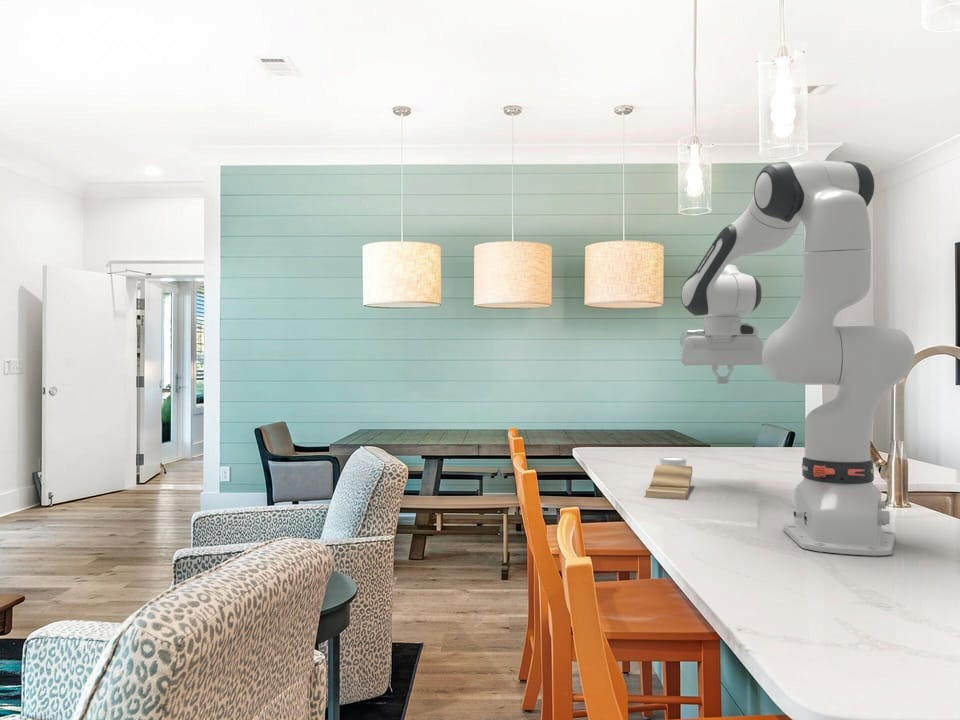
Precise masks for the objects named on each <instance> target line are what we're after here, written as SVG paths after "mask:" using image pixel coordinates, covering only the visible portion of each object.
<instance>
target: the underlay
mask: <svg viewBox="0 0 960 720" xmlns="http://www.w3.org/2000/svg"><path fill="white" fill-rule="evenodd" d="M695 487H696V486H695V485H690V488H689V494H688V496H687V498H686V500H685V499H680V500H682V501H688V500H689V499H690V496H691V495H692V493H693V491H694V489H695ZM643 498H648V499H651V498H650V497H646V494H645V495H644V496H643ZM663 499H665V500H666V499H667V498H663ZM667 500H668V499H667Z"/></svg>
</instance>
